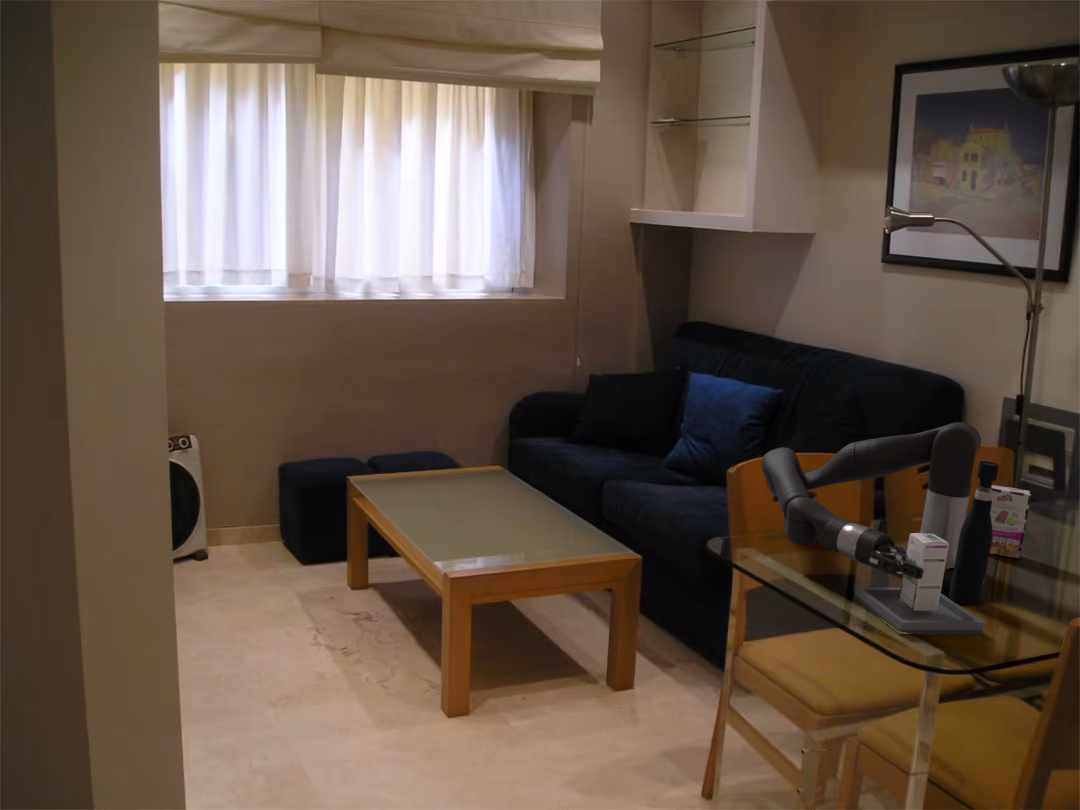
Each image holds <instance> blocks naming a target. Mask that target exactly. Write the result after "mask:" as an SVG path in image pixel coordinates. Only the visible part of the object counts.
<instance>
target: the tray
mask: <svg viewBox="0 0 1080 810" xmlns="http://www.w3.org/2000/svg"><path fill="white" fill-rule="evenodd" d="M900 590H901V587H882V586H881V587H876V586H873V587H872V586H869V587H866V586H865V587H864V586H863V587H861V586H857V587H855V590H854V596H853V599H854V600H855V601H856V602H858V603H859V604H860V605H861V606H863V607H864V608H865V609H866V610H867V611H869V612H870V611H871V612H872V613H871V612H870V613H871V614H873V613H874V614H875V615H877V616H879V617H880V618H881V619H883V620H884V621H886V622H887V623H889V624H890V625H892V626H893V627H895V628H896V629H897V630H898V631H901V632H907V633H911V634H916V635H915V636H920V635H921V636H930V635H931V636H933V635H934V636H935V635H937V636H938V635H939V636H945V635H946V636H947V635H948V636H950V635H951V636H956V635H958V636H959V635H960V636H961V635H963V636H965V635H967V636H969V635H971V636H973V635H978V636H979V635H983V631H984V625H985V622H984V621H982V620H981V619H979V618H978V617H977V616H975V615H974V614H972V613H971V612H970V611H968V610H967V609H966V608H963V607H962V606H961V605H959V604H957V603H956V601H954V600H952V599H951V598H950V597H947V596H946V595H944V594H943V593H942V592H941V593H940V599H939V605H938V610H937V611H915V610H912V609H911V608H910V607H908V606H907V605H906V604H904V603H903V602H901V601H900V600H899V596H900ZM874 614H873V615H874ZM875 615H874V616H875Z"/></svg>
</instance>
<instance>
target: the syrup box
mask: <svg viewBox="0 0 1080 810" xmlns="http://www.w3.org/2000/svg"><path fill="white" fill-rule="evenodd" d="M907 542H908V543H907V545H908V548H907V547H906V548H907V554H906V560H905V563H910V564H912V565H915V566H917V567H920V568H922V569H923V576H922V578H921V579H916V578H914V577H911V576H909V575H906V574H904V573H903V574H902V579H901V584H900V588H901V590H900V596H899V600H900V601H901V602H903V603H904V604H906V605H907V606H908V607H910V608H911V609H912V610H915V611H937V610H938V605H939V599H940V593H941V594H942V587H943V582H944V581H943V580H944V576H945V575H944V574H945V572H944V570H945V571H946V569H945V564H946V558H947V553H948V547H949V543H948V542H946V541H945V540H943V539H941V538H940V537H938V536H936V535H934V534H931V533H920V532H914V533H911V532H910V533H909V537H908V541H907Z"/></svg>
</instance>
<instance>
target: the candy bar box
mask: <svg viewBox="0 0 1080 810" xmlns="http://www.w3.org/2000/svg"><path fill="white" fill-rule="evenodd" d="M990 491H992V495H991V497H992V498H991V500H992V505H991V511H990V516H991V522H992V543H991V547H992V548H997V549H998V548H999V549H1009V550H1017V551H1021V552H1022V549H1023V544H1024V538H1025V532H1026V526H1027V520H1028V516H1029V511H1030V509H1029V508H1030V504H1031V503H1030V502H1031V499H1032V498H1031V497H1032V494H1031V490H1026V489H1020V488H1015V487H1009V486H1003V485H997V484H992V489H991V490H990Z"/></svg>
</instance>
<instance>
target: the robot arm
mask: <svg viewBox="0 0 1080 810" xmlns="http://www.w3.org/2000/svg"><path fill="white" fill-rule="evenodd" d="M981 444H982V437H981V435H980V432H979V431H978V430H977V428H976V427H974V426H973V425H972V424H969V423H967V422H961V421H960V422H959V421H958V422H952V423H949V424H946V425H942V426H939V427H937V428H932V429H928V430H925V431H922V432H918V433H917V432H916V433H911V434H910V433H909V434H901V435H892V436H885V437H884V436H883V437H878V438H869V439H864V440H859V441H854V442H851V443H848V444H847V445H845V446H844V447H842V448H841V449H840V450H838V452H836V454H834V455H833V456H832V458H831V459H830V460H828V462H826V463H825V464H824V465H822V466H821V467H820V468H818V469H815V470H812V471H808V472H804V471H803V469H802V466H801V464H800V463H801V462H800V459H799V458H798V456H797V453H796V452H795V451H794V450H793V449H791V448H790V447H789V448H788V447H778V448H774V449H771V450H769V451H768V452H766V453H765V454H764V455H763V456H762V458H761V460H760V465H761V471H762V474H763V475H764V478H765V481H766V484H767V487H768V489H769V491H770V493H771V494H772V495H773V496H777V500H778V503H779V506H780V509H781V512H782V515H783V523H784V530H785V535H786V537H787V538H788V540H789V541H790V542H791V543H792V544H795V545H797V546H801V547H808V546H811V545H812V544H814V543H815V542H816V541H817V539H818V542H819V543H820V544H821V546H822V547H824V548H826V549H829V550H831V551H835V552H836V553H838V554H840V555H843V556H845V557H846V558H848V559H850V560H853V561H856V562H858V563H861V564H862V565H866V566H867V567H871V568H873V569H874V570H875V569H877V570H880V571H882V572H886V573H888V574H889V575H896V573H897V574H899V575H903V573H904V574H906V575H909V576H911V577H914V578H916V579H921V578H922V576H923V569H922V568H920V567H917V566H915V565H912V564H910V563H905V560H906V554H907V548H908V544H907V545H906V547H905V546H902V545H895V543H894V540H893V538H892V537H891V535H890V534H888V533H885V532H881V531H879V530H877V529H873V528H871V527H869V526H865V525H864V524H863V525H862V524H860V523H854V522H852V521H849V520H845V519H843V518H840V517H838V516H837V515H835V513H833V512H831V510H829V509H828V508H826V507H825V506H824V505H822V504H821V503H819V502H818V501H817V500H815V499H812V498H811V496H810V494H809V492H808V491H811V490H816V489H819V488H822V487H823V488H824V487H827V486H833V485H837V484H838V485H839V484H843V483H849V482H856V481H864V480H869V479H870V480H871V479H876V478H881V477H884V476H885V477H886V476H889V475H892V474H895V473H899V472H902V471H905V470H908V469H910V468H912V467H915V466H919V465H923V464H928V463H929V471H928V485H927V492H926V496H925V502H924V508H923V515H922V519H921V520H922V521H921V525H920V532H919V533H931V534H934V535H936V536H938V537H940V538H941V539H943V540H945V541H946V542H948V543H949V547H948V553H947V558H946V564H945V570H944V573H946V570H950V569H949V568H954V564H955V559H956V553H957V548H958V542H959V536H960V531H961V528H962V526H963V523H964V521H965V519H966V517H967V515H968V514H967V513H968V509H969V501H970V497H971V493H972V492H971V491H972V476H973V471H974V465H975V460H976V455H977V454H978V453H979V451H980V448H981Z"/></svg>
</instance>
